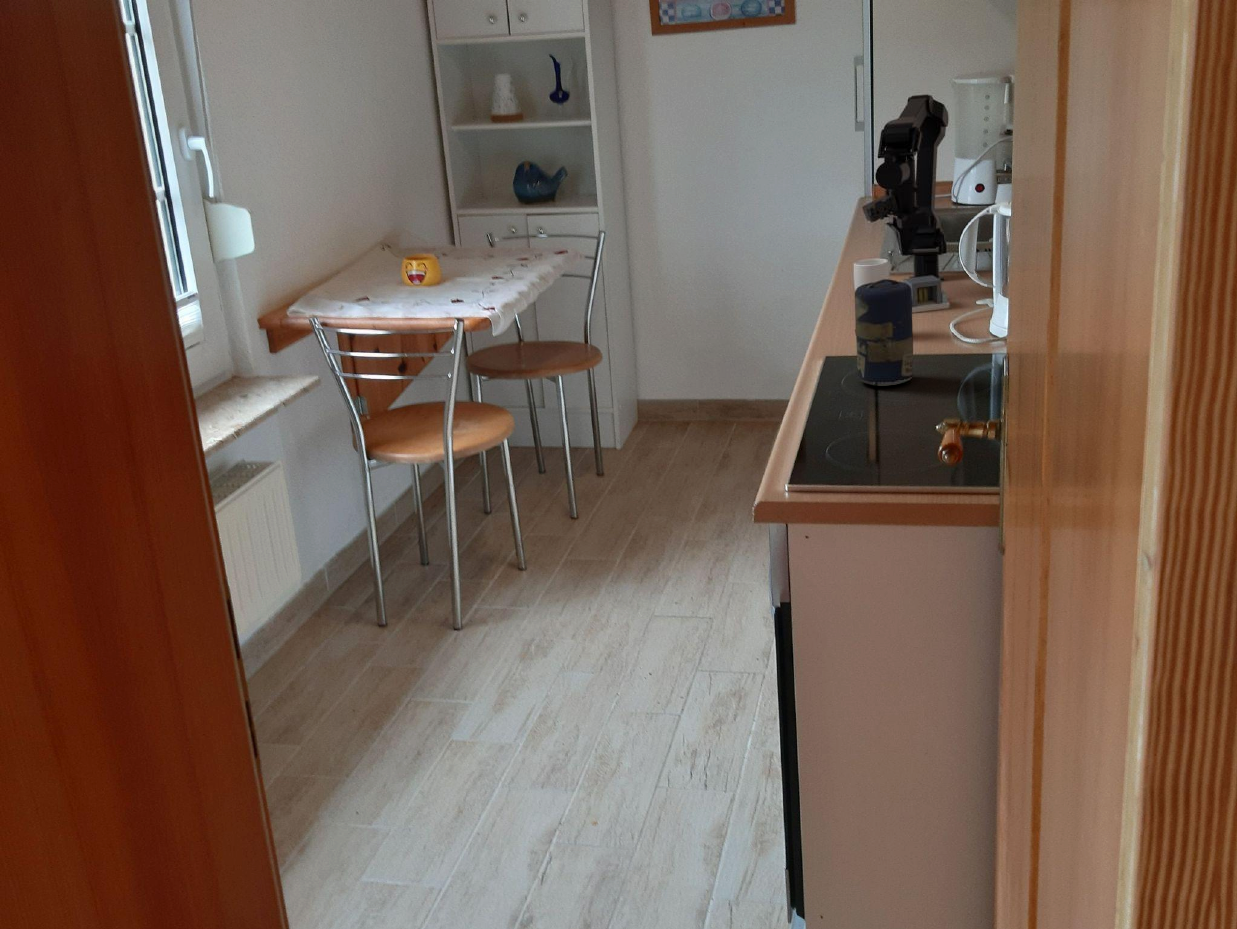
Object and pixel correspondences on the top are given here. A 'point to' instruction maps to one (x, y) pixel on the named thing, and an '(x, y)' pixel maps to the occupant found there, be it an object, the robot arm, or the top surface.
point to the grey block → (926, 281)
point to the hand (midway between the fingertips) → (904, 255)
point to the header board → (929, 301)
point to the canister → (884, 331)
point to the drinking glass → (870, 271)
